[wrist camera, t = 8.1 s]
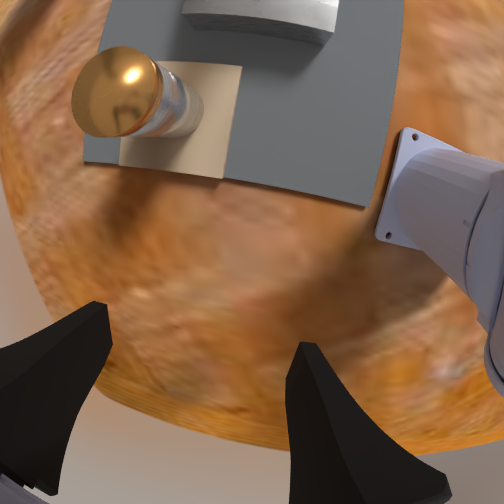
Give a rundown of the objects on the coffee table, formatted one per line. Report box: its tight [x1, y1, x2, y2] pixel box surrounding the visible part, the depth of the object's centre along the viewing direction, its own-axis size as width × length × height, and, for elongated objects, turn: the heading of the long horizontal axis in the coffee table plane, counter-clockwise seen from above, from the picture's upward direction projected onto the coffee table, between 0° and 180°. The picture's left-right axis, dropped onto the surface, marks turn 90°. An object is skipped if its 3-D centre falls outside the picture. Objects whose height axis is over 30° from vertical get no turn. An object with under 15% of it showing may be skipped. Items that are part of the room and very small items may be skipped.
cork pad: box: [119, 61, 243, 179], centre depth 15 cm, size 7×7×1 cm
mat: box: [83, 0, 404, 208], centre depth 14 cm, size 20×18×1 cm
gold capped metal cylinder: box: [71, 46, 204, 138], centre depth 11 cm, size 3×3×8 cm
